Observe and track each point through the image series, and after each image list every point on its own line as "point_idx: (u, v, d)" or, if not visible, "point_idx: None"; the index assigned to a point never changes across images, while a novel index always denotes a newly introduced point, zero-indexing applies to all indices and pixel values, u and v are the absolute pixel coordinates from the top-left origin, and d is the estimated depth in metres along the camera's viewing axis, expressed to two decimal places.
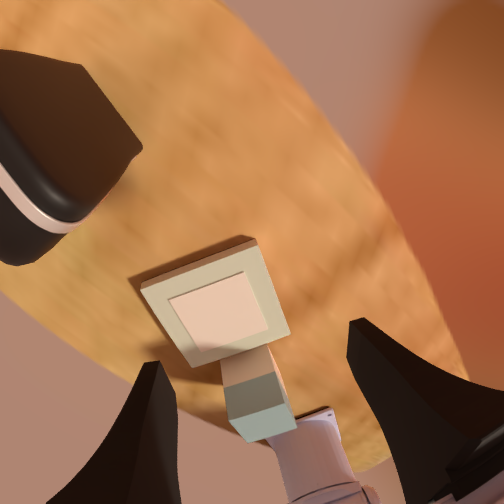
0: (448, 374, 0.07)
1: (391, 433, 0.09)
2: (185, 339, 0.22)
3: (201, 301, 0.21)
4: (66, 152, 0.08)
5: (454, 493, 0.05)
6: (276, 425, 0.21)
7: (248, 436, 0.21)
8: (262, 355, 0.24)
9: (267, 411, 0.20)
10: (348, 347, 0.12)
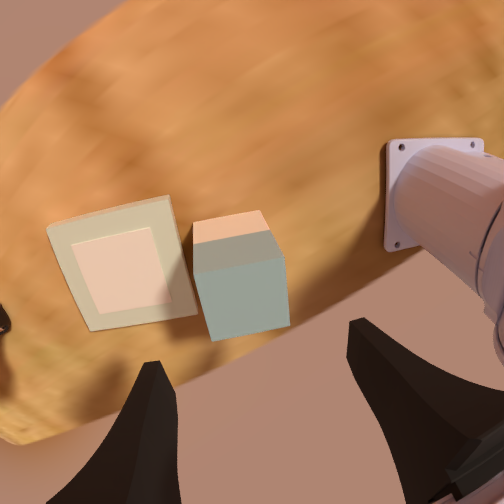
0: (448, 374, 0.07)
1: (391, 433, 0.09)
2: (151, 311, 0.20)
3: (101, 288, 0.19)
4: None
5: (454, 493, 0.05)
6: (255, 287, 0.15)
7: (268, 323, 0.16)
8: None
9: (205, 297, 0.14)
10: (348, 347, 0.12)
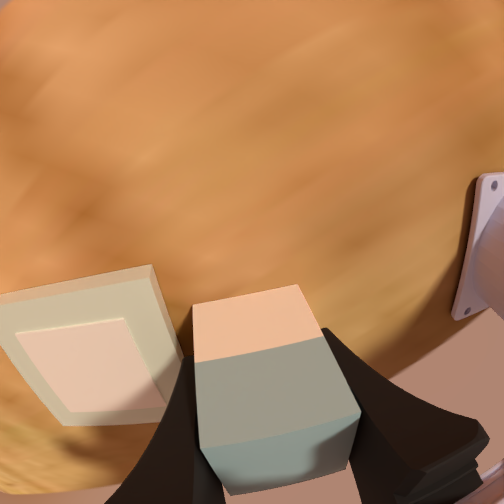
0: (405, 393, 0.07)
1: None
2: (138, 413, 0.13)
3: (66, 387, 0.12)
4: None
5: None
6: (305, 449, 0.07)
7: (315, 474, 0.09)
8: None
9: (222, 466, 0.07)
10: None
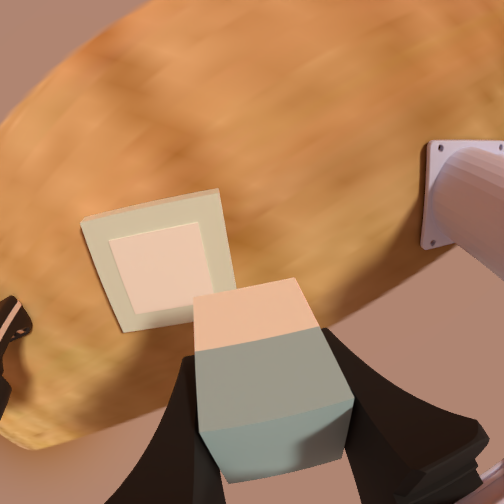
0: (405, 393, 0.07)
1: (349, 448, 0.09)
2: (192, 310, 0.20)
3: (139, 287, 0.18)
4: None
5: None
6: (301, 435, 0.08)
7: (312, 462, 0.09)
8: None
9: (220, 451, 0.08)
10: None
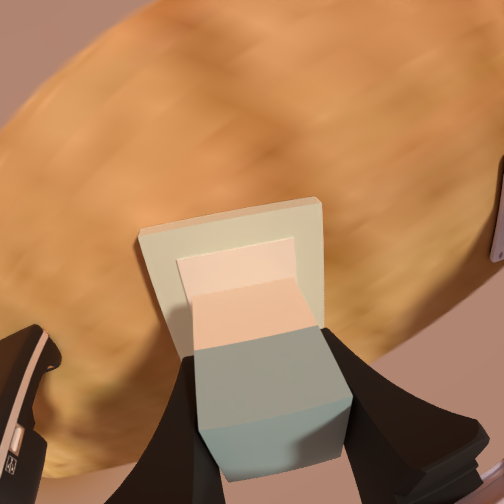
0: (405, 393, 0.07)
1: (350, 448, 0.09)
2: None
3: None
4: None
5: None
6: (300, 434, 0.08)
7: (311, 460, 0.09)
8: None
9: (219, 449, 0.08)
10: None
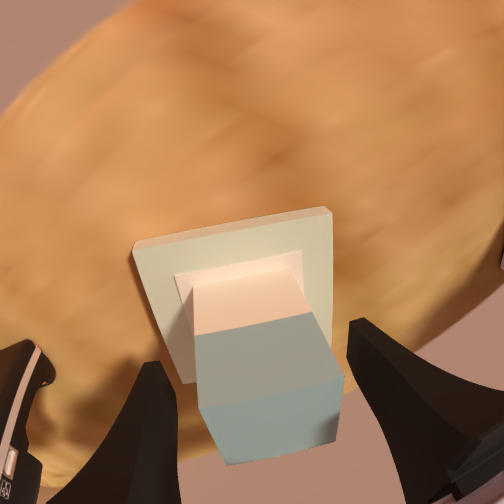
0: (448, 374, 0.07)
1: (391, 433, 0.09)
2: None
3: None
4: None
5: (454, 493, 0.05)
6: (295, 414, 0.09)
7: (307, 443, 0.10)
8: None
9: (219, 429, 0.08)
10: (348, 347, 0.12)
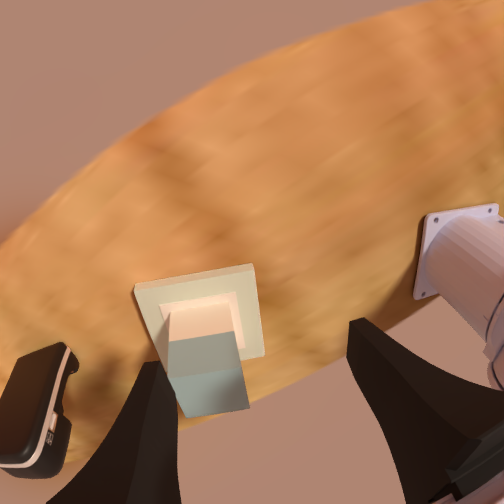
0: (448, 374, 0.07)
1: (391, 433, 0.09)
2: None
3: None
4: (16, 434, 0.14)
5: (454, 493, 0.05)
6: (218, 386, 0.17)
7: (231, 407, 0.18)
8: None
9: (178, 392, 0.17)
10: (348, 347, 0.12)
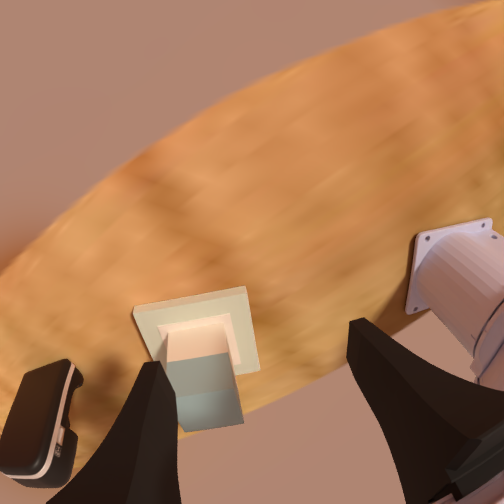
0: (448, 374, 0.07)
1: (391, 433, 0.09)
2: None
3: None
4: (27, 448, 0.15)
5: (454, 493, 0.05)
6: (213, 404, 0.18)
7: (226, 422, 0.19)
8: None
9: None
10: (348, 347, 0.12)
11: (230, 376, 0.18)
